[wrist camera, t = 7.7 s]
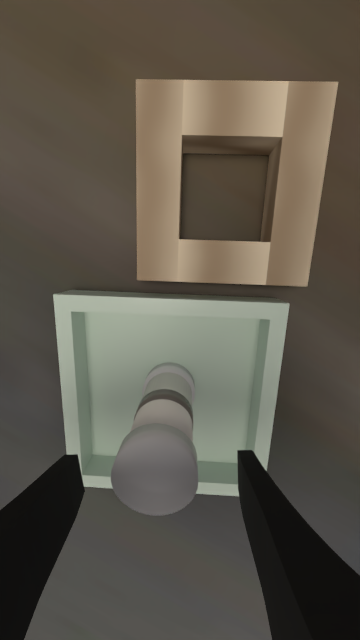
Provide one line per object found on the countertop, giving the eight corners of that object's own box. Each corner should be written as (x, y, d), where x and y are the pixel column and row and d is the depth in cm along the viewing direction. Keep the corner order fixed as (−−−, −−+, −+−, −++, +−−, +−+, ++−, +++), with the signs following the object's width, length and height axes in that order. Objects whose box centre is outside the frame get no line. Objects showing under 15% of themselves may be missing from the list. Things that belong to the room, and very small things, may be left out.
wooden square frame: (315, 109, 14) (338, 82, 12) (291, 283, 16) (307, 286, 14) (143, 106, 14) (135, 79, 12) (143, 278, 17) (137, 280, 15)
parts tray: (275, 297, 17) (289, 303, 14) (253, 469, 20) (262, 497, 17) (72, 289, 17) (53, 294, 15) (83, 458, 20) (69, 485, 18)
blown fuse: (193, 361, 17) (196, 441, 10) (195, 406, 18) (200, 514, 10) (142, 363, 17) (105, 444, 10) (147, 408, 18) (116, 516, 10)
